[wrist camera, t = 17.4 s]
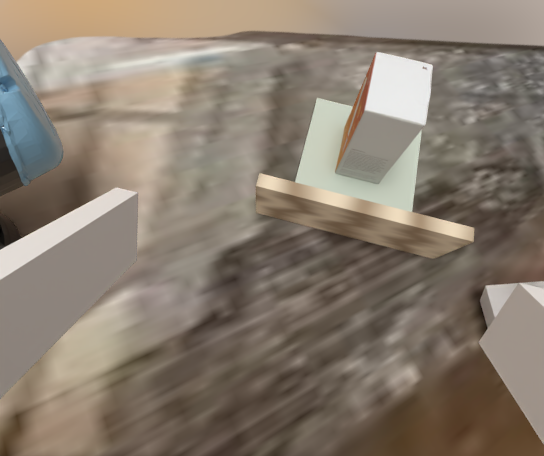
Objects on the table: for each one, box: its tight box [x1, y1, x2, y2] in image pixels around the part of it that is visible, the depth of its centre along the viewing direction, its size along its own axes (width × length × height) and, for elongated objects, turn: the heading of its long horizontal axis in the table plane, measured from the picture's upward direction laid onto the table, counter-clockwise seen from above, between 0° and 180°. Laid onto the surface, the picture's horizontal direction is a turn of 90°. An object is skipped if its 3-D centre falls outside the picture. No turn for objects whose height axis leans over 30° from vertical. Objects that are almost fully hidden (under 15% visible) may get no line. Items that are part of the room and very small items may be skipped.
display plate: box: [295, 98, 422, 212], centre depth 45 cm, size 16×16×1 cm
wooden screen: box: [256, 173, 474, 259], centre depth 38 cm, size 24×2×8 cm, turn 75°
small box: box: [335, 52, 433, 184], centre depth 38 cm, size 8×6×13 cm
